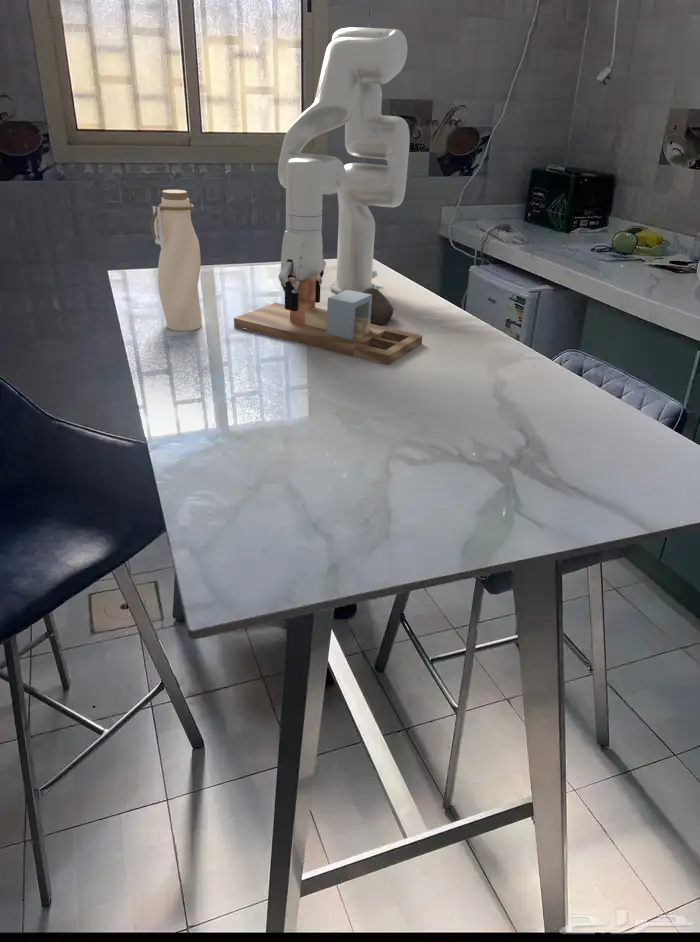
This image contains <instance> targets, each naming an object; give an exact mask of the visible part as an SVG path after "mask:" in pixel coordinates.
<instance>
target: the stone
mask: <svg viewBox="0 0 700 942" xmlns="http://www.w3.org/2000/svg"><path fill="white" fill-rule="evenodd" d="M361 293H366V294H371V295H372V306H371V322H370V324H374V325H378V326H383V327H385V326H386V325H387V324H388V323H389V322H390V321H391V319H392V317H393V315H394V307H393V305H392V304H391V302H390V301H389V300H388V299H387V298H386V296H385V295H384V294H382V292H381V291H380V290H378V288H377V289H375V288H368V289H366V290H364V291H362V292H361Z"/></svg>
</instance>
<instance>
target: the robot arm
mask: <svg viewBox="0 0 700 942" xmlns="http://www.w3.org/2000/svg"><path fill="white" fill-rule="evenodd" d="M325 50H326V51H325V53H324V58H323V62H322V66H321V70H320V73H319V74H320V76H319V80H318V83H317V89H316V92H315V97H314V101H313V103H312V104H311V105H310V107H308V108H307V109H306V110H304V111H303V112H302V113H301V114H300V115H299V116H298V117H297V118H296V119H295V120H294V121H293V123H292V124H291V125H290V127H289V128H288V130H287V132H286V134H285V136H284V139H283V142H282V147H281V150H280V155H279V160H278V164H277V165H278V167H277V176H278V181H279V183H280V185H281V186H282V188H284V189H285V230H284V234H283V238H282V243H281V244H282V245H281V256H280V257H281V258H280V272H279V274H278V280H279V282H280V285H281V287H282V290H283V292H284V305H285V309H286V310H291V311H295V312H296V311H298V293H296V292H297V289H298V286H299V283H300V281H303V280H305V279H307V278H310V277H313V276H316V291H315V304H316V303H317V304H318V303H321V285H322V283H323V279H322V278H323V276H324V273H325V272H324V271H325V269H326V265H327V262H326V261H325V260H324V251H323V250H324V247H323V234H322V230H323V195H334V194H337V202H338V231H337V232H338V233H337V234H338V236H337V257H336V259H337V260H336V280H335V281H334V282H331V283H330V286H329V287H330V290H331V291H332V292H333V293H336V294H339V293H341V292H344V291H346V290H352V291H357V292H362V291H364V290H366V289H368V288H375V289H377V290H378V287H377V285H375V284H374V283H373V282H372V280H373V279H375V278H377V277H378V272H377V271H376V270H373V266H374V265H373V264H374V249H375V247H374V246H375V233H376V222H375V218H374V216H373V213H372V212H371V210H370V208H369V206H376V207H384V208H396V207H399V206H400V205H401V204H402V203H403V201H404V199H405V194H406V190H407V189H406V187H407V178H408V165H409V155H410V154H409V153H410V143H411V142H410V139H411V138H410V136H411V135H410V134H411V133H410V128H409V124H408V122H407V121H406V120H405V118H402V117H401V116H395V115H384V114H382V103H383V102H382V101H383V91H382V87H381V85H385V84H387V83H390V82H391V80H393V78H395V77H396V76H397V75H399V73H401V71H402V70H403V68H404V66H405V65H406V61H407V57H408V42H407V38H406V35H405V34H404V32H403V31H402V30H400V29H396V28H378V27H376V28H375V27H374V28H373V27H357V26H356V27H353V26H352V27H351V26H350V27H344V28H340V29H337V30H336V31H335V32H334V33H333V34H332V38H331V41H330V43H329V44H328V46H327V47H326V49H325ZM343 125H344V126H345V127H344V147H345V149H346V152H347V153H348V154H349V155H351V156H354V157H358V158H366V159H378V160H386V162H387V165H384V164H374V163H363V162H351V163H346V164H344V163H343V162H342V160H341V159H339V158H338V157H336V156H334V155H333V156H332V155H325V154H324V155H323V154H316V153H307V152H306V153H304V152H303V153H302V150H303V148H304V147H306V145H307V144H308V143H309V142H310V141H311V140H313V139H314V138H316V137H318V136H320V135H322V134H324V133H327V132H330V131H333V130H334V129H337V128H339V127H342V126H343ZM292 276H296V278H294V277H292ZM291 281H293V282H294V284H293V286H292V284H291V283H290V282H291Z"/></svg>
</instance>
